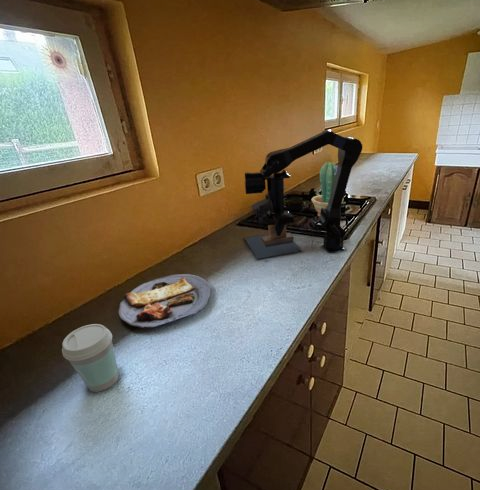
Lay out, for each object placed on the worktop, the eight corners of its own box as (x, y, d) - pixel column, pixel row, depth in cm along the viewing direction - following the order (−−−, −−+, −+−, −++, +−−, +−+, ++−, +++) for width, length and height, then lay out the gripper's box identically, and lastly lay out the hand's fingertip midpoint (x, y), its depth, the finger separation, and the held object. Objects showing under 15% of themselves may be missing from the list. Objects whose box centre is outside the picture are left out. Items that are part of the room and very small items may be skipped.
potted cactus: (321, 222, 139) (323, 167, 128) (305, 212, 152) (305, 161, 140) (349, 216, 145) (353, 163, 133) (331, 207, 157) (333, 158, 146)
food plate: (122, 343, 73) (118, 332, 71) (117, 296, 91) (114, 286, 90) (221, 311, 83) (219, 300, 81) (199, 274, 101) (197, 265, 99)
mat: (283, 232, 130) (283, 231, 130) (301, 251, 113) (301, 250, 113) (244, 239, 126) (244, 238, 125) (257, 259, 109) (257, 258, 108)
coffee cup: (92, 366, 67) (73, 323, 61) (131, 362, 67) (116, 320, 62) (72, 400, 59) (48, 355, 54) (117, 395, 60) (98, 350, 54)
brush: (289, 238, 114) (289, 221, 110) (293, 242, 110) (293, 224, 107) (261, 243, 111) (260, 225, 108) (265, 247, 107) (263, 229, 104)
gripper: (246, 188, 108) (249, 228, 115) (260, 202, 92) (263, 248, 99) (275, 184, 110) (277, 224, 118) (294, 197, 95) (295, 242, 102)
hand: (277, 234), depth 109 cm, fingers closed on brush, 2 cm apart
